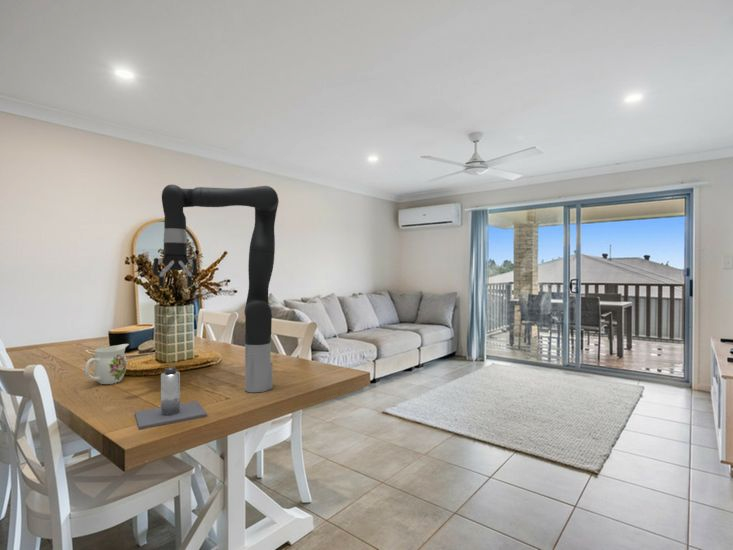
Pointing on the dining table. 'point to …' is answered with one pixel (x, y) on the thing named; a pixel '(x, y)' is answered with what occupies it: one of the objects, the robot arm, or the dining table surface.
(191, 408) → the placemat
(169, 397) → the pepper mill
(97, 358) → the pitcher
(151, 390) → the dining table surface
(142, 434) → the dining table surface
